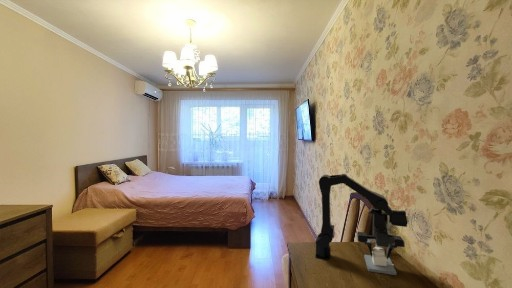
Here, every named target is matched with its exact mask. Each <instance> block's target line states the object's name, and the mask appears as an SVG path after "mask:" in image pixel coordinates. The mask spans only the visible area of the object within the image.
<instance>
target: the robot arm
mask: <svg viewBox="0 0 512 288" xmlns="http://www.w3.org/2000/svg"><path fill="white" fill-rule="evenodd" d="M341 184H344V185H345V186H347V187H348V188H349V189H351V190H353V191H354V192H355V193H357V194H359V195H360V196H361V197H363V198H364V199H366V200H367V201H368V202H369V203H370V205H372V206H373V207H371V208H370V209H368V213H369V214H371V215H372V235H370V234H367V232H363V231H358V232H356V238H357V242H359V243H363V244H364V245H366V246H367V247H368V251H369V255H371V257H372V252H373V248H372V245H373V244H372V242H371V240H375V241H376V242H375V245H376V244H377V246H382V247H385V248H386V250H385V256H386V258H387V259H388V258H390V255H391V253H392V251H393V250H394V249H398V247H400V248H404V247H405V245H406V244H405V240H404V239H403V237H402V236H401V235H394V234H388V233H389V232H388V223H389V224H390V225H391V226H395V227H401V228H402V227H403V228H407V227H408V219H407V212H406V210H403V209H402V210H398V209H397V210H396V209H392V207H390V206H389V202H388V199H387V198H386V197H385V196H384V195H383V194H380V193H379V192H376V191H372V190H370V189H368V188H367V187H366V186H364V185H362V184H360V183H359V182H357V181H356V180H355V179H353V178H351V177H350V176H348V175H347V174H346V173H342V174H335V175H334V174H333V175H329V174H322V176H321V177H320V178H319V180H318V186H319V190H320V193H321V215H322V218H321V219H322V220H321V222H322V223H321V227H320V233H318V235H317V236H316V239H315V254H314V255H315V256H314V257H315V258H317V259H324V260H330V257H331V246H330V243H332V241H333V240H334V238H335V234H336V232H335V226H336V225H335V224H334V225H333V224H332V221H331V219H332V218H331V216H332V215H331V190H332V186H336V185H341Z"/></svg>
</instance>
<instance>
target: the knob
mask: <svg viewBox="0 0 512 288" xmlns="http://www.w3.org/2000/svg"><path fill="white" fill-rule="evenodd" d="M372 260H373V263H374V265H380V266H386V249H384V248H383V247H380V248H379V247H376V246H375V247H373V248H372Z"/></svg>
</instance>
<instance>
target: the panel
mask: <svg viewBox="0 0 512 288" xmlns="http://www.w3.org/2000/svg"><path fill="white" fill-rule="evenodd" d="M363 257H364V258H363V259H364V261H365V262H364V263H365V264H366V269H367V271H368V272H371V273H378V274H385V275H386V274H387V275H392V276H397V273H398V272H397V270H396V268H395V264H393V261H392V260H391V258H390V257H389V258H388V259H387V258H386V266H380V265H374V263H373V260H372V257H371V254H364V256H363Z"/></svg>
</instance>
